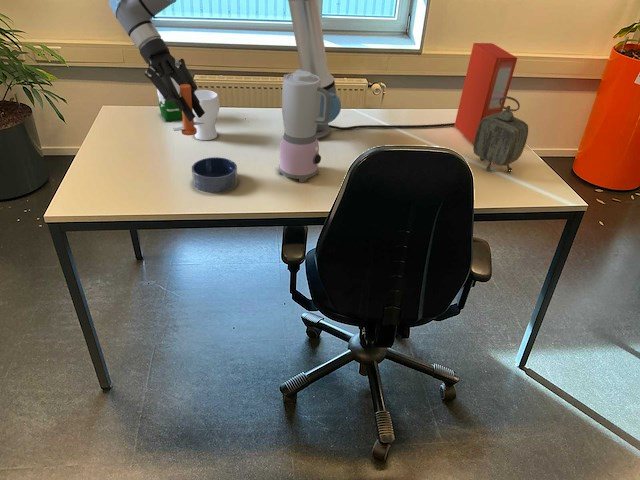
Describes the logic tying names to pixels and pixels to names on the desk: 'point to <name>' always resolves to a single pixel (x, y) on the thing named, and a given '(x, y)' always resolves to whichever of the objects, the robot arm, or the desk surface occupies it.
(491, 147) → the tabletop clock
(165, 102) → the milk carton
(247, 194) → the desk surface
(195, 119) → the cup
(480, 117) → the file binder
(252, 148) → the desk surface
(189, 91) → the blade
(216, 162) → the bowl
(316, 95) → the blender
